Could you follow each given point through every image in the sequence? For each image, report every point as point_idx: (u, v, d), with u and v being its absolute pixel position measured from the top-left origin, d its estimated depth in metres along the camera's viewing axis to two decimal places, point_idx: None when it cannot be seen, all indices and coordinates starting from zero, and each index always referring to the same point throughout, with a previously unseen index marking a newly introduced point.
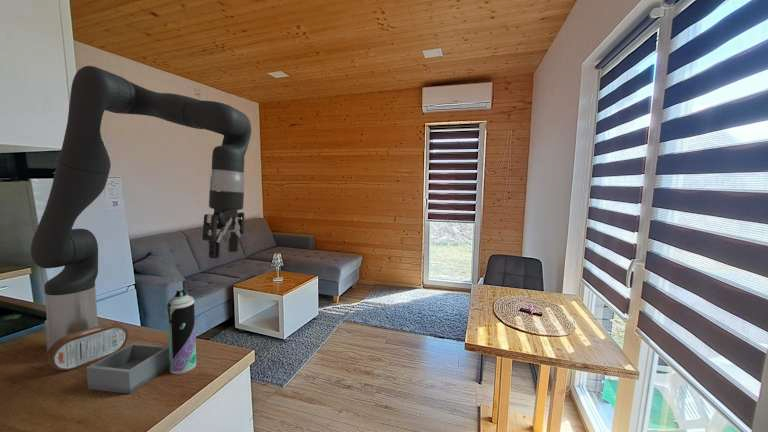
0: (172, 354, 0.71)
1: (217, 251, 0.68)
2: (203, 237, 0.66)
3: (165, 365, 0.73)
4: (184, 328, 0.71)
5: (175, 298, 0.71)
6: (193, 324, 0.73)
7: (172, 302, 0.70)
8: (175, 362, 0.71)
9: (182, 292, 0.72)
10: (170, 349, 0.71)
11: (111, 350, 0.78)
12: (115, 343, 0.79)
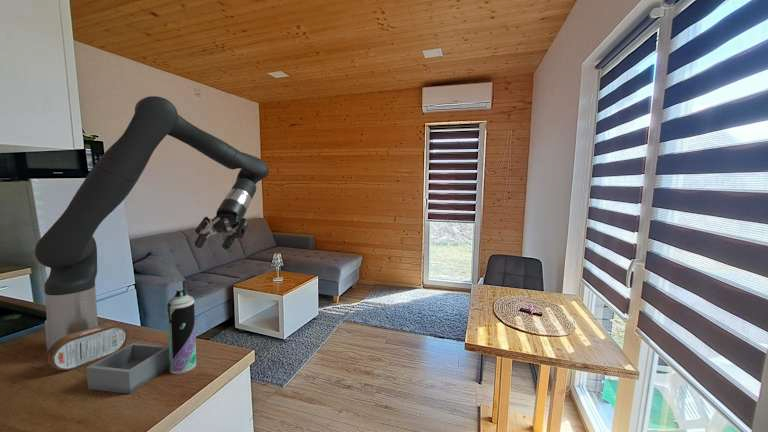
0: (172, 354, 0.71)
1: None
2: (239, 232, 0.86)
3: (165, 365, 0.73)
4: (184, 328, 0.71)
5: (175, 298, 0.71)
6: (193, 324, 0.73)
7: (172, 302, 0.70)
8: (175, 362, 0.71)
9: (182, 292, 0.72)
10: (170, 349, 0.71)
11: (111, 350, 0.78)
12: (115, 343, 0.79)
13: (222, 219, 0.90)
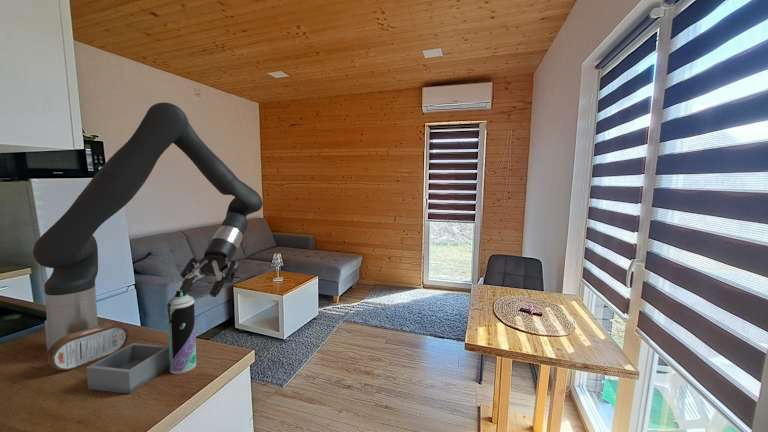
0: (172, 354, 0.71)
1: None
2: (229, 277, 0.79)
3: (165, 365, 0.73)
4: (184, 328, 0.71)
5: (175, 298, 0.71)
6: (193, 324, 0.73)
7: (172, 302, 0.70)
8: (175, 362, 0.71)
9: (182, 292, 0.72)
10: (170, 349, 0.71)
11: (111, 350, 0.78)
12: (115, 343, 0.79)
13: (210, 261, 0.83)
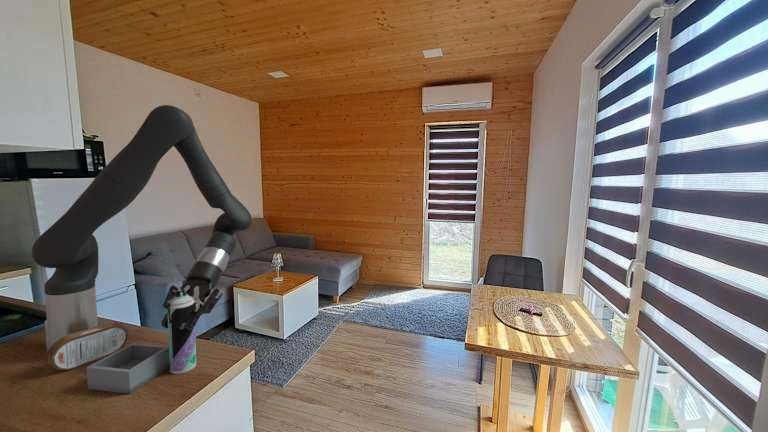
0: (173, 354, 0.71)
1: None
2: (206, 308, 0.73)
3: (165, 365, 0.73)
4: (184, 328, 0.71)
5: (175, 298, 0.71)
6: None
7: (172, 302, 0.70)
8: (175, 362, 0.71)
9: (182, 292, 0.72)
10: (170, 349, 0.71)
11: (111, 350, 0.78)
12: (115, 343, 0.79)
13: (193, 286, 0.77)
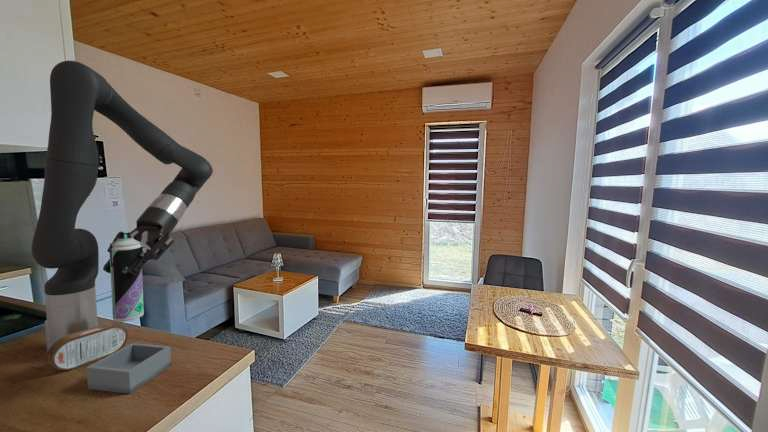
0: (115, 300, 0.66)
1: None
2: (152, 253, 0.68)
3: (165, 365, 0.73)
4: (127, 273, 0.66)
5: (118, 240, 0.66)
6: None
7: (114, 243, 0.65)
8: (118, 309, 0.66)
9: (126, 234, 0.67)
10: (113, 294, 0.66)
11: (111, 350, 0.78)
12: (115, 343, 0.79)
13: (142, 232, 0.72)
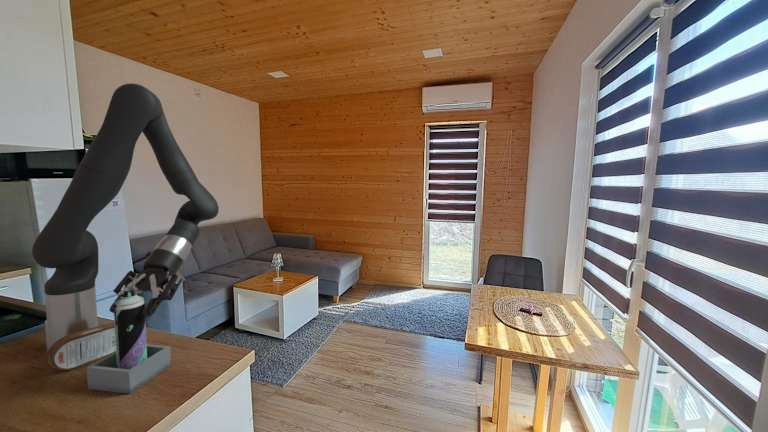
0: (119, 358, 0.67)
1: None
2: (167, 293, 0.70)
3: (165, 365, 0.73)
4: (131, 331, 0.67)
5: (122, 298, 0.67)
6: (143, 326, 0.69)
7: (118, 303, 0.66)
8: (122, 366, 0.67)
9: (130, 292, 0.68)
10: (117, 352, 0.67)
11: (111, 350, 0.78)
12: (115, 343, 0.79)
13: (149, 275, 0.74)
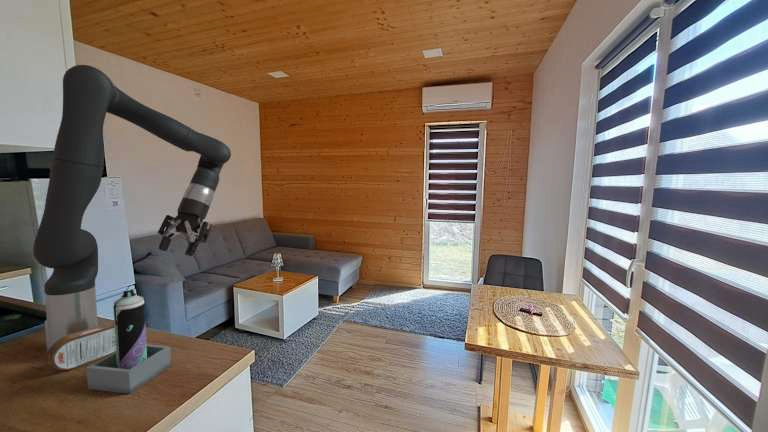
0: (119, 358, 0.67)
1: None
2: (201, 239, 0.84)
3: (165, 365, 0.73)
4: (131, 331, 0.67)
5: (122, 298, 0.67)
6: (143, 326, 0.69)
7: (118, 303, 0.66)
8: (122, 366, 0.67)
9: (130, 292, 0.68)
10: (117, 352, 0.67)
11: (111, 350, 0.78)
12: (115, 343, 0.79)
13: (184, 220, 0.87)
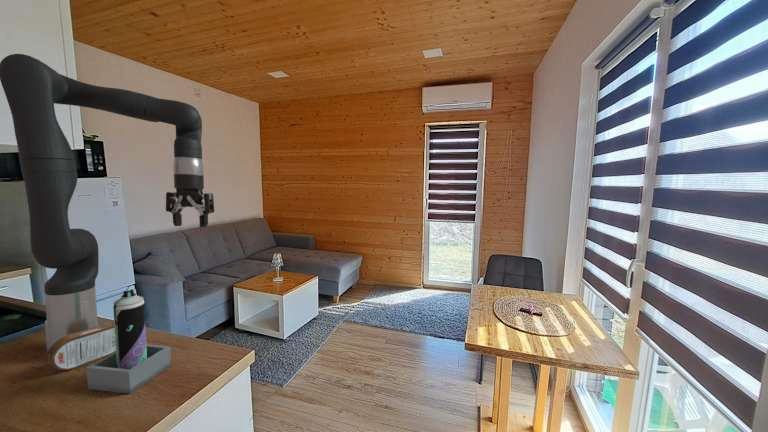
0: (119, 358, 0.67)
1: None
2: (209, 210, 0.88)
3: (165, 365, 0.73)
4: (131, 331, 0.67)
5: (122, 299, 0.67)
6: (143, 326, 0.69)
7: (118, 303, 0.66)
8: (122, 366, 0.67)
9: (130, 292, 0.68)
10: (117, 352, 0.67)
11: (111, 350, 0.78)
12: (115, 343, 0.79)
13: (185, 195, 0.88)
